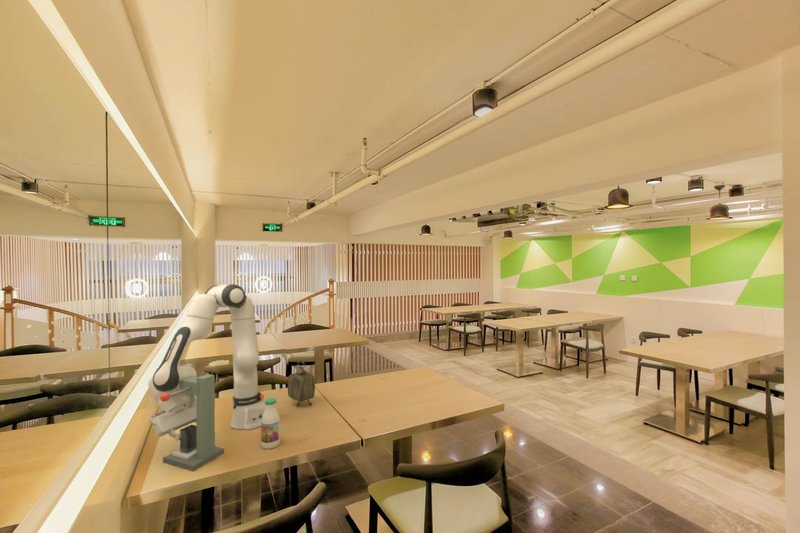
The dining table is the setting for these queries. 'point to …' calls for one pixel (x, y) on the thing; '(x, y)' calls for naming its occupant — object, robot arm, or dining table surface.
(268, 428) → the milk bottle
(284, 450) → the dining table surface
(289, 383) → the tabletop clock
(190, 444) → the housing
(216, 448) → the press
